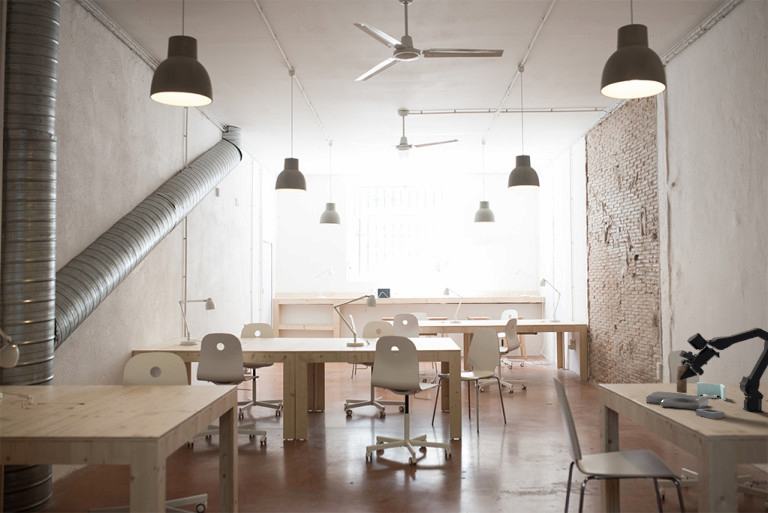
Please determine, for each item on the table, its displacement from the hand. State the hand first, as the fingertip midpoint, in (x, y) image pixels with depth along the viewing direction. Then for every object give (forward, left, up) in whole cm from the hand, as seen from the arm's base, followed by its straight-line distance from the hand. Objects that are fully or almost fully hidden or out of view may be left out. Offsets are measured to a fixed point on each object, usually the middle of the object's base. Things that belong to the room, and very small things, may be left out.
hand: (678, 378), depth 290 cm
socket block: (-5, +21, -13) cm, 26 cm away
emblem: (-1, -5, -14) cm, 15 cm away
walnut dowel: (-1, 0, -7) cm, 7 cm away
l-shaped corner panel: (-27, -26, -14) cm, 41 cm away
